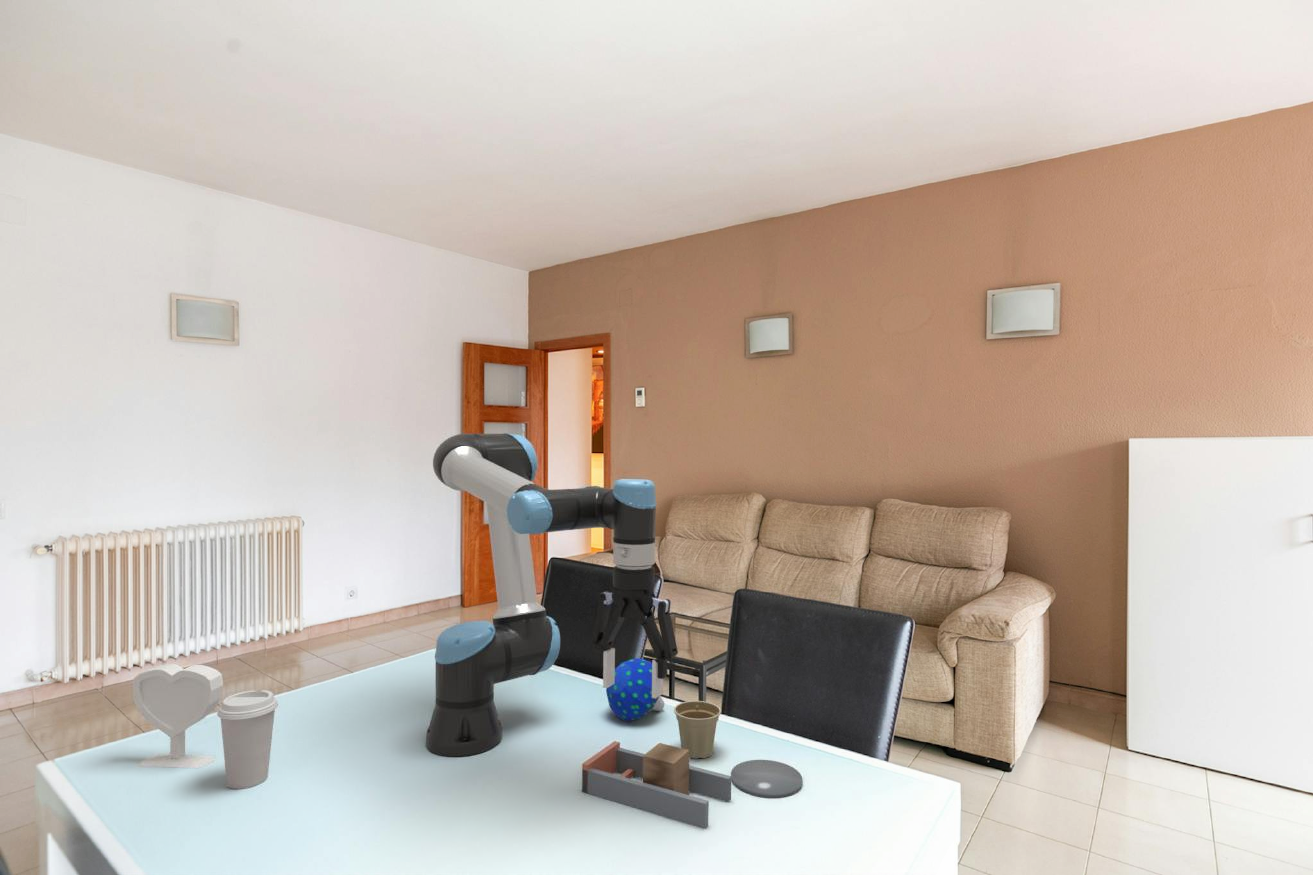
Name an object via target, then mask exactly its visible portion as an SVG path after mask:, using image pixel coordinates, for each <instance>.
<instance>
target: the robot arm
mask: <svg viewBox="0 0 1313 875" xmlns="http://www.w3.org/2000/svg"><path fill="white" fill-rule="evenodd" d="M432 466H433V467H432V468H433V471H434V475H436V477H437V479H438V481H440V482H441V483H442V484H443V485H444V486H446V487H449V488H450V489H452V490H454V491H465V492H467V493H468V494H471V495H472V496H474V497H476V498H478V499H479V500H481V501H483V502H484V503H486V511H487V521H488V522H487V523H488V528H489V537H490V538H489V539H490V546H491V548H490V549H491V556H492V564H493V572H494V581H495V589H496V590H495V591H496V598H497V607H498V608H497V611H495V613H494V615H493V616H492V622H491V621H487V620H474V621H464V622H461V623H457V624H454V625H451V626H449V627H448V628H446V629H444V630H443V631H442V632H441V633H440V634H439V635H438V637H437V639H436V646H435V653H434V660H435V702H434V703H435V704H434V705H435V706H434V709H433V712H432V715H431V719H430V722H429V726H428V727H427V730H426V734H425V746H426V748H427V750H428V751H430V752H431V753H433V754H436V755H439V756H447V757H463V756H464V757H465V756H471V755H475V754H480V753H483V752H486V751H488V750H491V749H493V748H494V747H496V746H497V745H499V744H500V743H501V741H502V738H503V725H502V722H501V720H499V714H498V711H497V710H498V709H497V708H496V704H495V697H494V695H495V693H494V692H495V691H494V690H495V685H496V684H500V683H504V682H507V681H512V680H515V679H519V678H523V677H528V676H535V675H537V674H538V673H541V672H544V671H547V670H550V669H551V667H553V666H554V665H555V662H556V660H557V659H558V656H559V653H560V649H561V633H560V628H559V627H558V625H556V624H557V621H555V619H554V618H552V617H551V616H548V615H547V612H546V608H545V607H544V606H543V605H541V604H540V603H539V602H538V596H537V588H536V587H537V586H536V579H535V570H534V562H533V556H532V548H531V539H530V538H531V537H530V535H533V536H534V535H540V534H546V533H555V532H563V531H574V530H583V529H584V530H586V529H595V528H599V529H601V528H603V529H610V530H613V537H612V541H613V545H612V546H613V550H612V551H613V554H612V556H613V560H612V563H613V564H614V565H615V566H614V567H613V569H612V586H613V591H612V592H610V591H609V590H606V591H603V592H600V593H599V594H598V595H597V599H598V600H597V602H598V608H597V613H596V617H595V620H594V624H593V629H592V633H591V637H590V644H591V646H596V647H597V648H598V649H599V666H600V668H603V669H602V670H603V672H602V676H603V677H602V688H605V689H607V688H608V687H610V686H611V685H613V684H615V669H616V666H615V665H616V663H615V662H616V658H615V657H616V648H614V647H613V646H614V644H613V642H614V640H615V639H616V636H617V634H618V633H619V630H620V629H621V627H622V624H623V623H624V621H625V619H628V618H631V619H633V620H637V621H638V622H639V624H640V625H641V626H642V628H643V631H644V632H645V635H646V637H647V639H648V641H649V645H650V647H651V649H652V652H653V654H654V656H655V659H652V660H651V663H652V698H655V699H656V698H657V697H659V696H662V695H664V679H665V678H666V677H667V675H668V661H669V660H670V659H672V658H674V657H676V656H677V655H678V653H679V651H678V647H677V641H676V637H675V636H676V635H675V633H674V626H673V622H672V618H671V600H670V599H668V598H665V599H661V598H657V597H656V595H655V585H656V582H655V581H656V578H655V577H656V575H655V574H656V568H655V567H654V566H653V565H654V564H655V563H656V515H657V514H656V511H657V510H656V509H657V498H656V486H655V483H654V482H653V481H652V480H650V479H644V478H641V479H638V478H625V479H624V478H621V479H617V480H615V482H614V484H613V485H614V486H613V488H611V487H610V488H609V487H600V486H598V485H592V486H591V485H587V486H581V487H579V488H559V489H548V488H545V487H543V486H541V485H539V484H536V483H534V482H533V480H534V479H535V478H536V476H537V470H538V467H539V466H538V457H537V453H536V450H535V448H534V446H533V444H532V443H531V441H529V440H528V439H527V438H526V437H524V436H523V435H521V434H512V433H507V432H505V433H468V432H467V433H459V434H455V435H452V436H450V437H448V438H446V439H445V440H443V442H441V443H440V445H438V447H437V448H436V450H435V452H434V455H433V458H432ZM612 603H614V605H615V607H616V608H615V610H614V612H613V614H612V615H611V616H612V618H611V620H610V623H609V624H608V620H609V617H610V612H611V608H612ZM653 607H654V608H655V609H654V610H655V612H656V613H657V616H656V617H657V623H658V624H657V623H656V621H655V619H656V617H655V615H654V612H653V610H652V609H653ZM607 625H608V626H607ZM658 626H659V628H658Z"/></svg>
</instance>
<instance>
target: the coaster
mask: <svg viewBox="0 0 1313 875" xmlns="http://www.w3.org/2000/svg"><path fill="white" fill-rule="evenodd" d="M730 776H731V784H733V786H734V787H735V788H737V789H738V790H740V791H741V792H743V793H744V794H745V793H746V794H748V795H750V796H754V797H758V798H766V799H780V798H786V797H789V796H793V795H795V794H797V793H798V792H799V791H800V790H801V789H802V787H803V776H802V775H801V773H800V772H799V771H798V769H796V768H794V767H793V766H790V765H789V764H786V763H783V762H780V761H776V760H771V759H751V760H746V761H743V762H740V763H737V764H736V765H734V767H733V768H732V769H731V771H730Z"/></svg>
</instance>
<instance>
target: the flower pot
mask: <svg viewBox="0 0 1313 875" xmlns="http://www.w3.org/2000/svg"><path fill="white" fill-rule="evenodd" d="M673 713H674V714H675V717H676V718H675V719H676V720H677V723H678V732H679V742H680V748H683V749H687V750H689V759H694V760H695V759H696V760H697V759H699V758H702V759H706V758H709V757H710V756H711V755H712V754H713V751H714V743H715V736H716V729H717V723H718V721H719V718H720V715H721V714H722V709H721V708H720V706H718V705H717V704H714V703H712V702H709V701H703V700H702V701H701V700H689V701H688V700H687V701H683V702H680V703H678V704H676V705H675V706H674V707H673Z"/></svg>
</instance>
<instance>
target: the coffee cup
mask: <svg viewBox="0 0 1313 875" xmlns="http://www.w3.org/2000/svg"><path fill="white" fill-rule="evenodd" d="M278 707H279V703H278V700H277V698H276V697H275V696H274V693H273V692H272V691H270V690H267V689H266V690H265V689H255V690H254V689H253V690H246V691H242V692H241V691H240V692H237V693H233V694H231V695H228V696H227V697H226V698H224V699H223V700H222V704H221V705H220V706H219V708H218V711H217V714H216V715H217V717H218V718H220V725H221V727H220V728H221V737H222V746H223V758H224V768H225V770H224V771H225V781H226V786H227V788H229V789H233V790H243V789H250V788H253V787H256V786H258V785H260V784H263V783H264V782H265V781H266V780H267V779H268V777H269V769H270V761H271V760H270V757H271V751H272V750H271V748H272V740H273V729H274V720H275V712H276V711H275V710H276V709H277V708H278Z"/></svg>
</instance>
